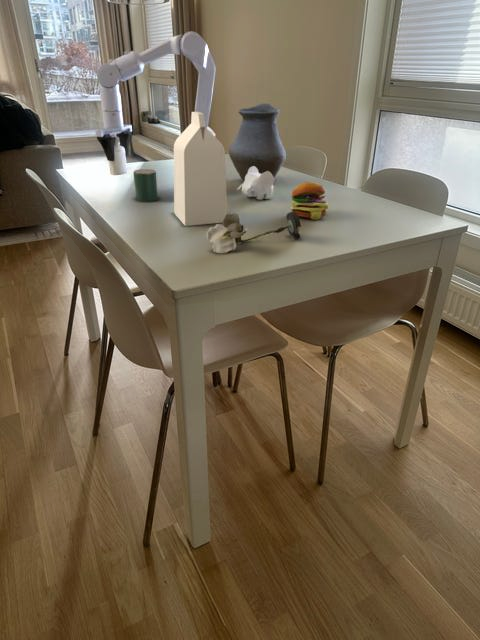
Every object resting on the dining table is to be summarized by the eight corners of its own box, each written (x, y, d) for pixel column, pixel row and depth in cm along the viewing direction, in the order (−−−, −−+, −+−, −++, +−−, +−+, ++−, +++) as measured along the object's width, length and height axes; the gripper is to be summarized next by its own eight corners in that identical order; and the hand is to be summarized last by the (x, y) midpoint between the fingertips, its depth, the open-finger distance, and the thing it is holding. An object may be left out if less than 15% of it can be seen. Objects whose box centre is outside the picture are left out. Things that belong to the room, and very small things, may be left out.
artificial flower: (306, 248, 107) (310, 212, 100) (214, 269, 102) (212, 232, 95) (291, 228, 113) (294, 192, 106) (204, 246, 108) (201, 210, 101)
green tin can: (161, 198, 140) (160, 170, 136) (149, 202, 135) (147, 174, 131) (144, 195, 143) (142, 168, 139) (131, 200, 138) (128, 171, 134)
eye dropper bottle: (129, 174, 142) (125, 133, 136) (111, 175, 139) (106, 134, 133) (126, 171, 145) (121, 131, 139) (108, 173, 143) (103, 132, 137)
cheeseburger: (299, 221, 121) (298, 182, 118) (285, 219, 131) (283, 183, 128) (333, 218, 123) (333, 180, 121) (317, 217, 133) (316, 181, 131)
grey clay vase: (219, 184, 158) (219, 105, 146) (239, 172, 176) (240, 101, 164) (277, 189, 153) (281, 108, 141) (291, 176, 171) (296, 103, 159)
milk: (174, 213, 126) (168, 111, 114) (213, 210, 130) (212, 110, 117) (185, 226, 116) (180, 115, 104) (227, 222, 120) (227, 114, 107)
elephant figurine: (232, 196, 144) (233, 167, 139) (265, 192, 149) (266, 164, 144) (247, 203, 136) (248, 173, 132) (281, 199, 142) (282, 170, 137)
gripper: (116, 108, 141) (121, 154, 147) (84, 112, 129) (91, 161, 136) (135, 109, 138) (139, 156, 145) (104, 113, 127) (110, 163, 133)
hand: (117, 159), depth 140 cm, fingers closed on eye dropper bottle, 5 cm apart
